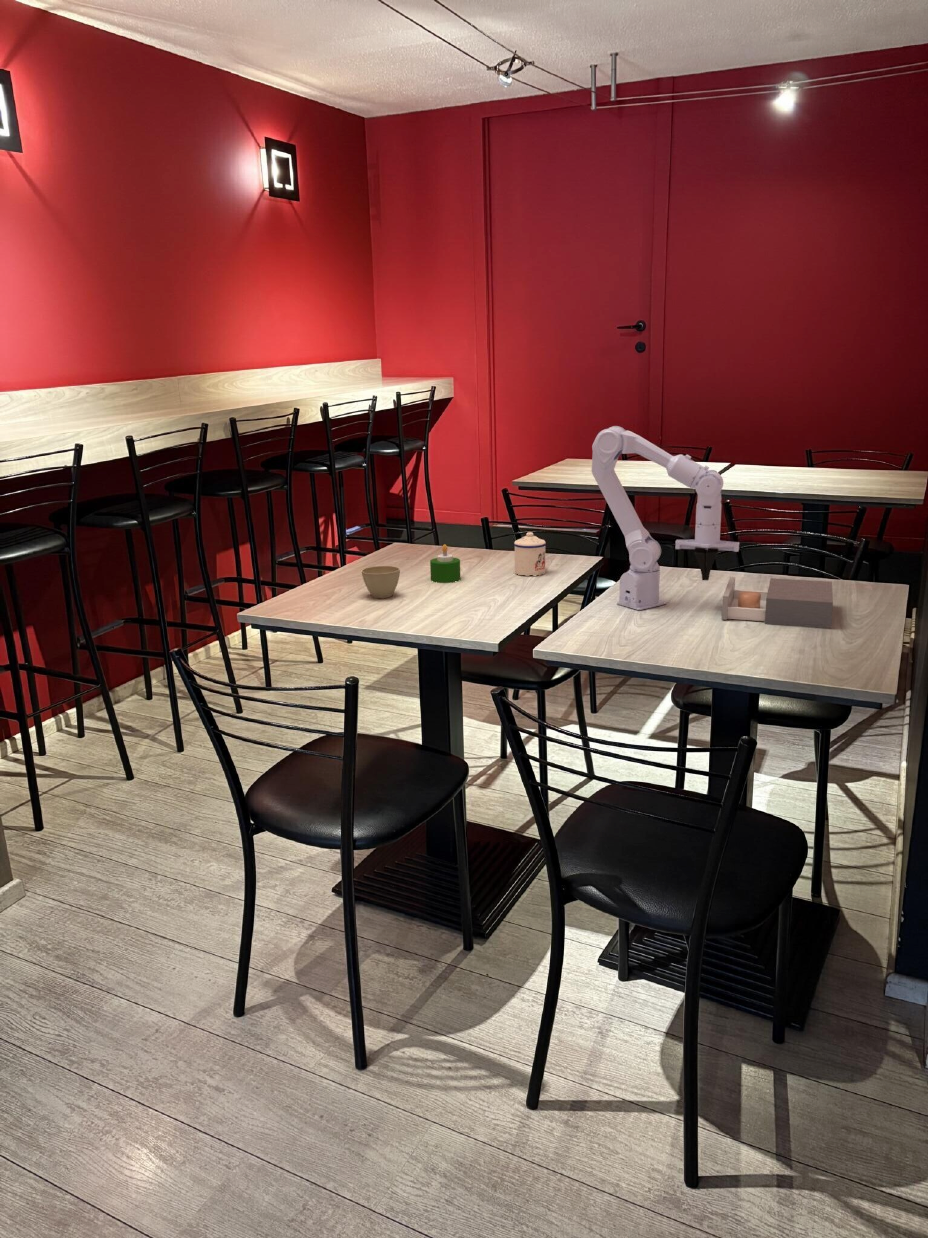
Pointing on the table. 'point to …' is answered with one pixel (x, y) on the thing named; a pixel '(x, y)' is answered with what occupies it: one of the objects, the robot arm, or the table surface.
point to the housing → (799, 603)
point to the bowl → (381, 580)
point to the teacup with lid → (529, 555)
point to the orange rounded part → (749, 599)
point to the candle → (445, 568)
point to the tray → (735, 612)
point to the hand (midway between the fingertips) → (705, 579)
